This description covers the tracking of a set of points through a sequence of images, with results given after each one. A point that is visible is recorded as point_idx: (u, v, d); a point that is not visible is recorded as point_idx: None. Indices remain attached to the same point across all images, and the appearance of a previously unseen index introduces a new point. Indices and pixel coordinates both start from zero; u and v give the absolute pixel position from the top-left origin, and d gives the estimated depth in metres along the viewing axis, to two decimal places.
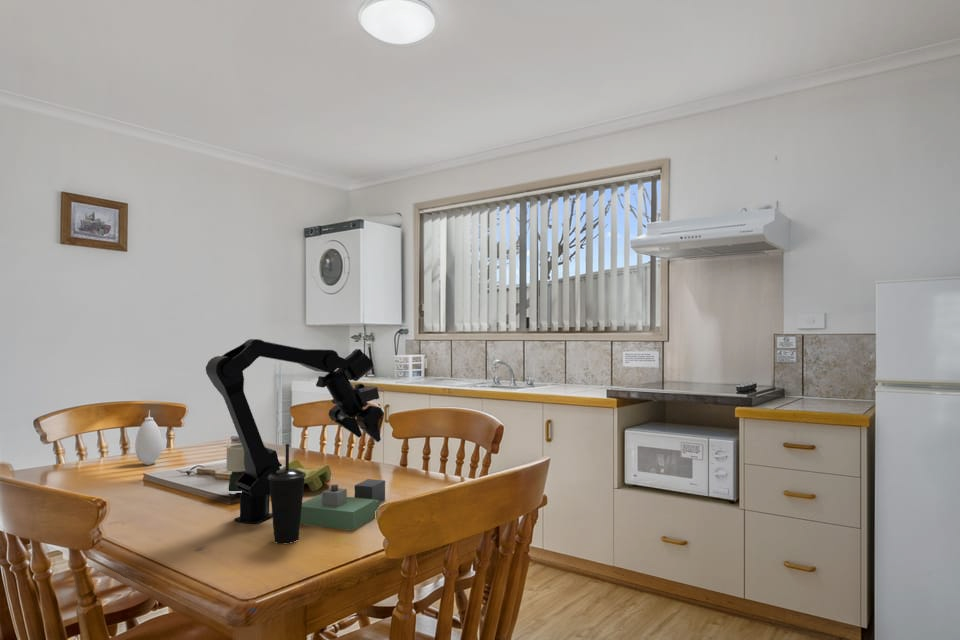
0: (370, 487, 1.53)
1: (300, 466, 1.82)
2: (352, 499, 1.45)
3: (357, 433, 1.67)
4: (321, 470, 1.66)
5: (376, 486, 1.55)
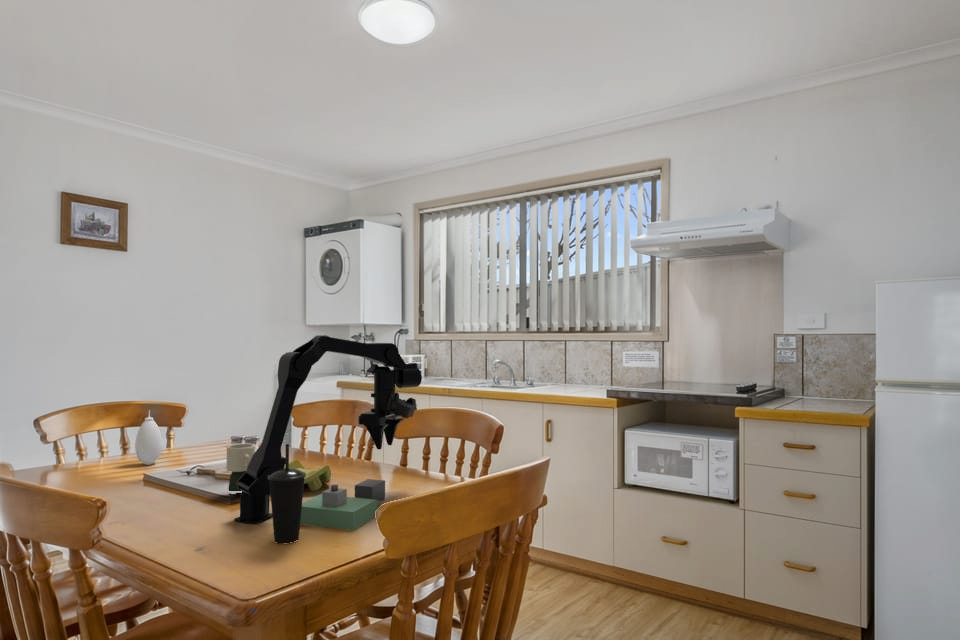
0: (370, 487, 1.53)
1: (300, 466, 1.82)
2: (352, 499, 1.45)
3: (388, 440, 1.68)
4: (321, 470, 1.66)
5: (376, 486, 1.55)
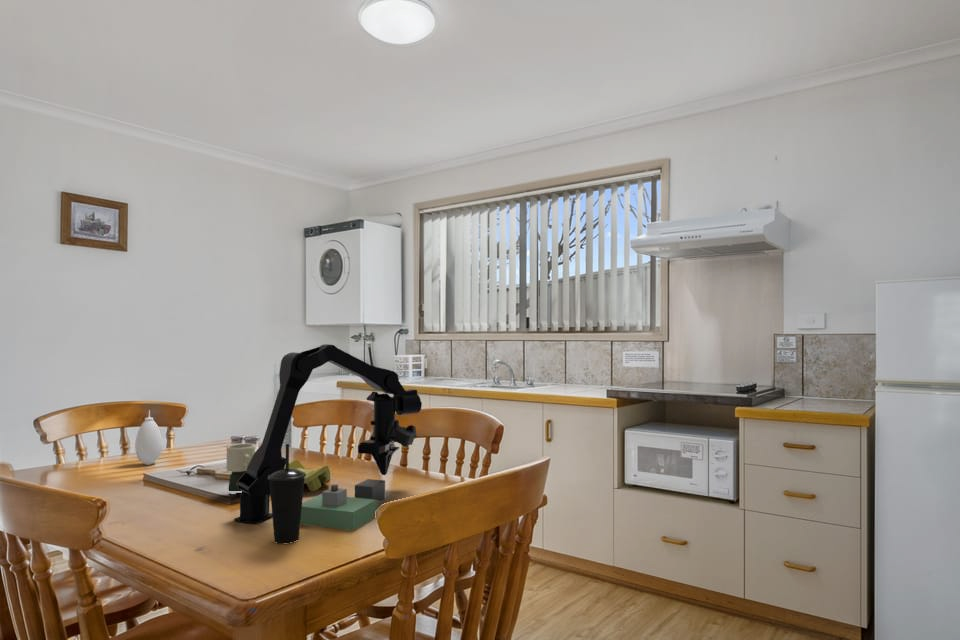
0: (370, 487, 1.53)
1: (300, 466, 1.82)
2: (352, 499, 1.45)
3: None
4: (320, 470, 1.66)
5: (376, 486, 1.55)
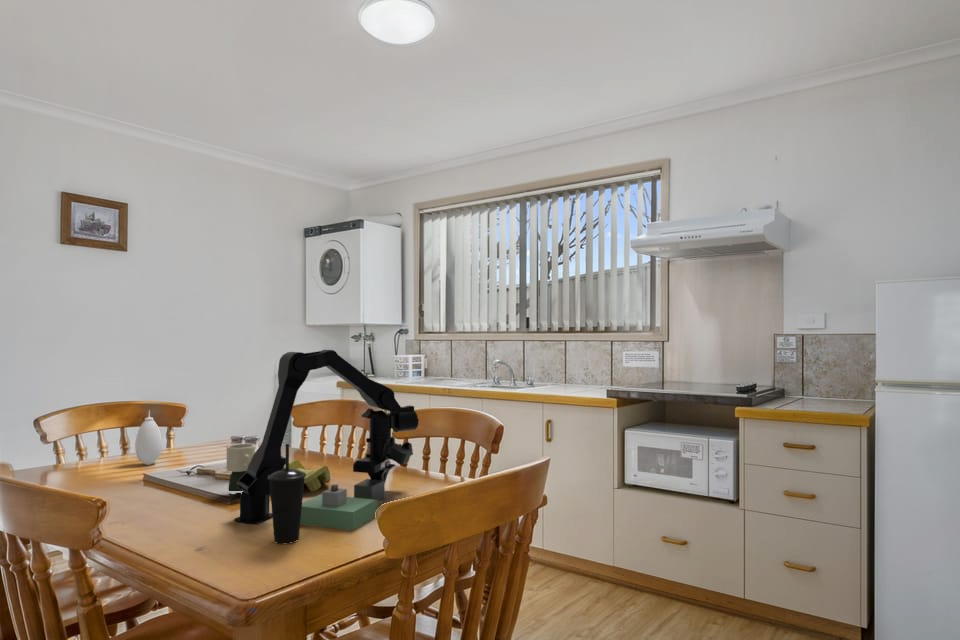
0: (370, 487, 1.53)
1: (301, 466, 1.82)
2: (352, 499, 1.45)
3: None
4: (319, 471, 1.65)
5: (375, 486, 1.55)
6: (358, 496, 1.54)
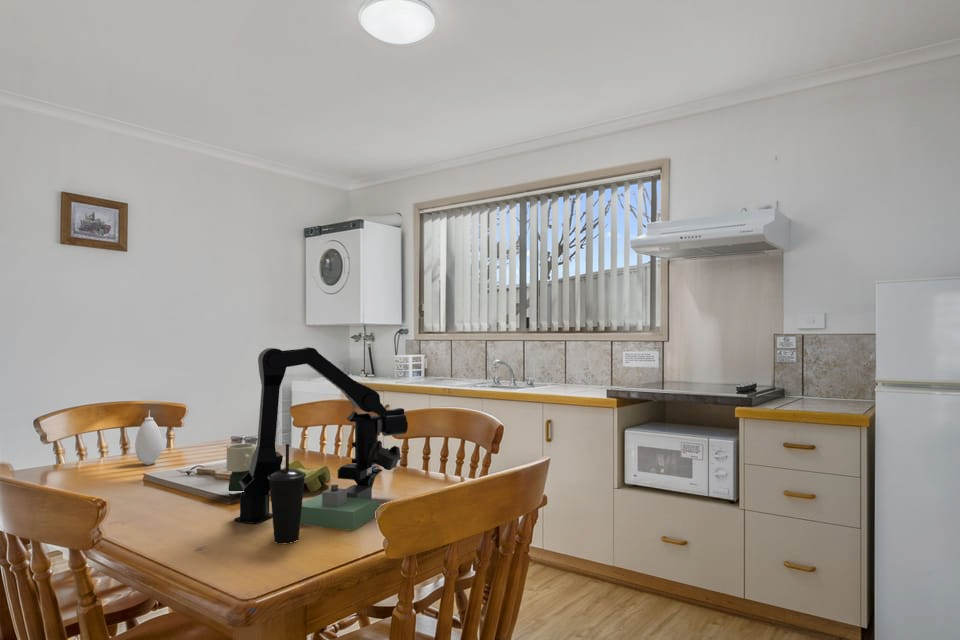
0: (355, 494, 1.46)
1: (301, 466, 1.81)
2: (352, 499, 1.45)
3: None
4: (319, 471, 1.65)
5: (362, 493, 1.48)
6: None
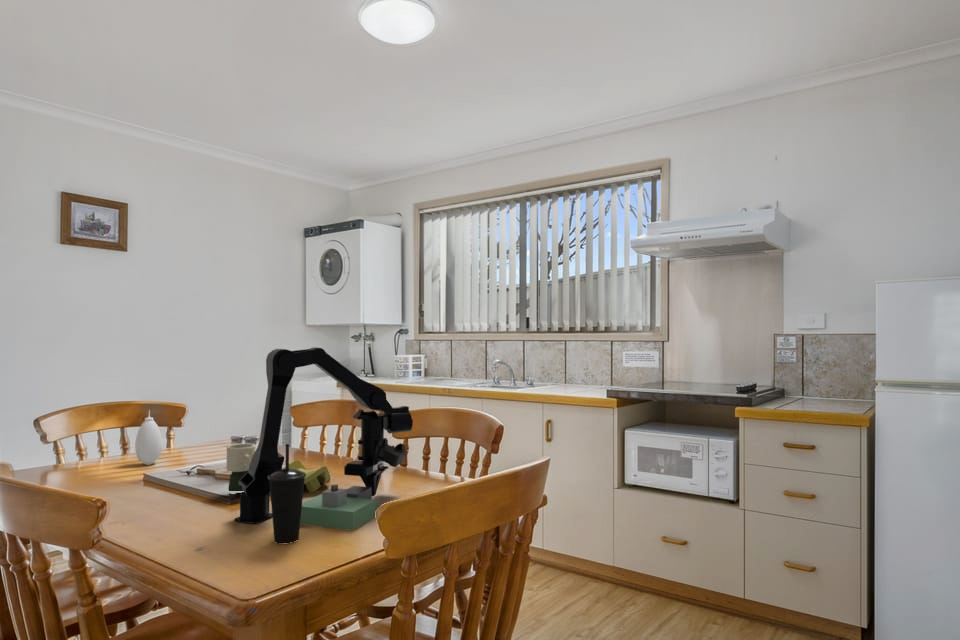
0: (355, 495, 1.46)
1: (301, 466, 1.81)
2: (352, 499, 1.45)
3: None
4: (318, 471, 1.65)
5: (362, 493, 1.48)
6: None
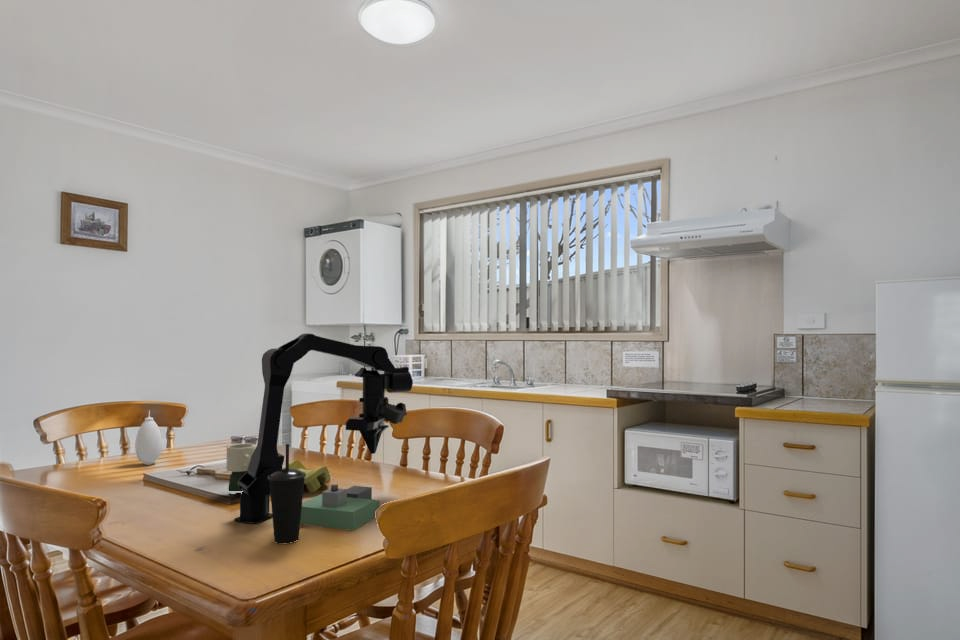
0: (355, 494, 1.46)
1: (302, 466, 1.81)
2: (352, 499, 1.45)
3: None
4: (318, 471, 1.65)
5: (362, 493, 1.48)
6: None
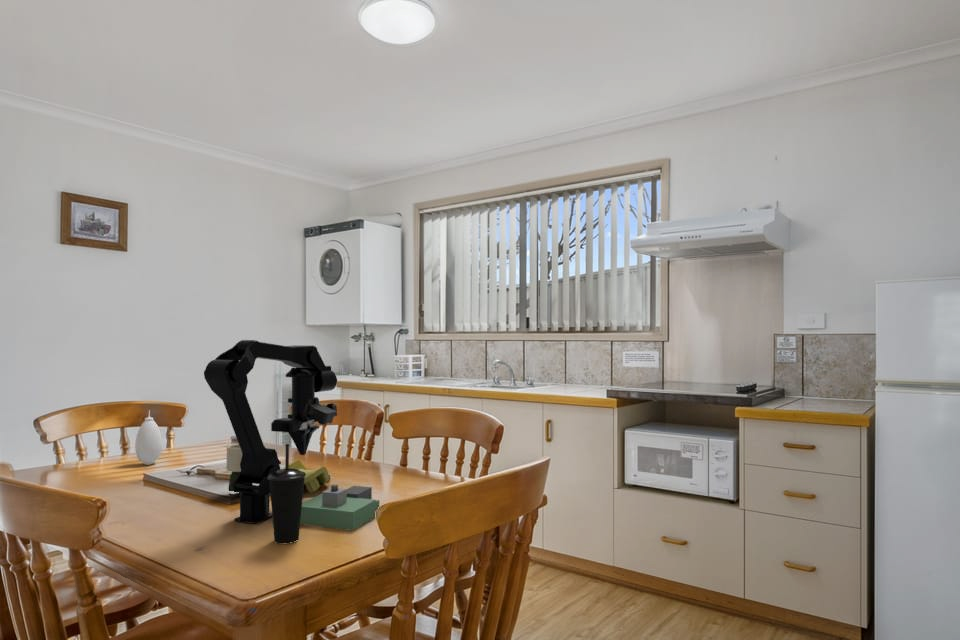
0: (355, 495, 1.46)
1: (302, 467, 1.81)
2: (352, 499, 1.45)
3: None
4: (317, 471, 1.64)
5: (362, 493, 1.48)
6: None
